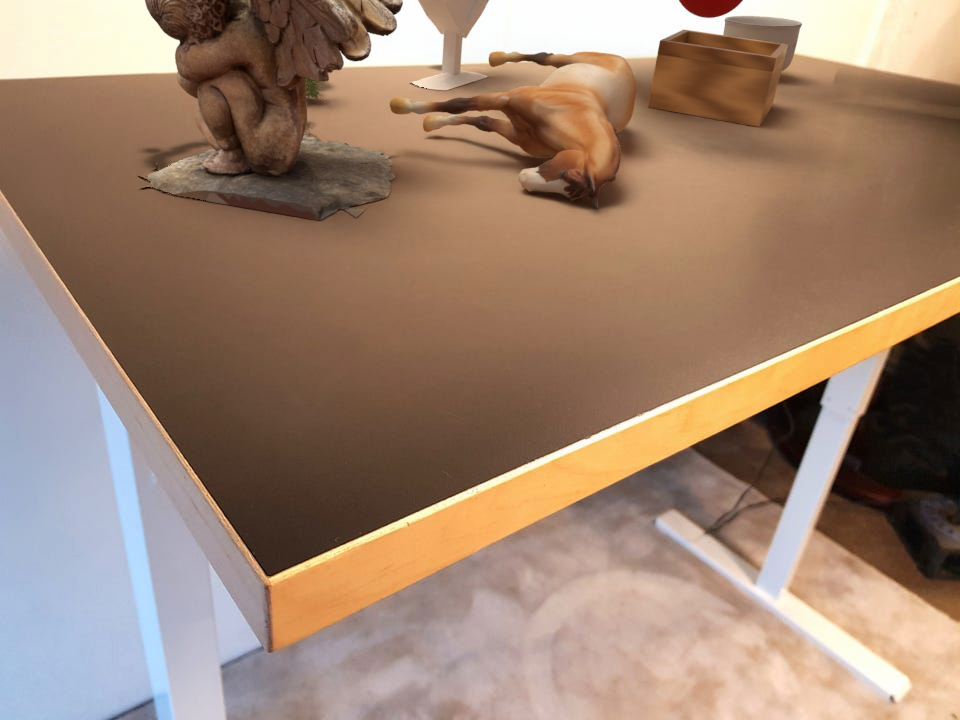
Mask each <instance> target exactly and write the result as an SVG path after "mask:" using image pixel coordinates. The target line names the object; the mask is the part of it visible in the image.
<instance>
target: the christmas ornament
mask: <svg viewBox="0 0 960 720" xmlns="http://www.w3.org/2000/svg"><path fill="white" fill-rule="evenodd" d="M678 1H679V3H680V4H681V6H682V7H683V8H684V9H685V10H686V11H687V12H689V13H690V14H692V15H693V16H696V17H699V18H703V19H705V18H706V19H713V18H718V17H722V16H725V15H727V14H728V13H730V12H732V11H734V10H735V9H736V8H737V7H738V6H739V5H740V4H741V3H742V2H743V1H744V0H678Z"/></svg>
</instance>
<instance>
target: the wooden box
mask: <svg viewBox="0 0 960 720" xmlns="http://www.w3.org/2000/svg"><path fill="white" fill-rule="evenodd" d="M658 43H659V44H658V49H657V55H656V60H655V65H654V70H653V76H652V82H651V86H650V92H649V97H648V102H647V108H649V109H656V110H661V111H666V112H667V111H668V112H673V113H678V114H683V115H688V116H693V117H694V116H695V117H699V118H706V119H712V120H718V121H724V122H728V123H734V124H740V125H745V126H751V127H757V128H759V127H760V125H761V124H762V122H763V121H764V119H765V118H766V117H767V115H768V113H769V112H770V110H771V109H772V108H773V105H774V100H775V97H776V93H777V90H778V86H779V82H780V77H781V73H782V72H783V71H782V67H783V63H784V59H785V56H786V52H787V48H788V44H781V43H774V42H767V41H760V40H753V39H746V38H739V37H732V36H725V35H723V34H719V33H711V32H705V31H704V32H703V31H696V30H691V29H682V30H680V31H677V32H675V33H673V34H671V35H668V36H666V37H664V38H662V39H660V40H659V42H658ZM781 71H782V72H781Z"/></svg>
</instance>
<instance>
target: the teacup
mask: <svg viewBox="0 0 960 720" xmlns="http://www.w3.org/2000/svg"><path fill="white" fill-rule="evenodd" d="M802 26H803V23H802V22H801V21H799V20H794V19H789V18H783V17H774V16H760V15H759V16H757V15H732V16H726V17H725V18H724V29H723V32H722V33H723V34H722V35H725V36H732V37H739V38H746V39H753V40H760V41H767V42H774V43H781V44H788V48H787V52H786V56H785V59H784V63H783V67H782V71H781V73H782V72H783V71H785V70H786V69H788V68H789V66H790V65H791V63H792V61H793V58H794V55H795V52H796V48H797V44H798V40H799V34H800V31H801V28H802Z"/></svg>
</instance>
